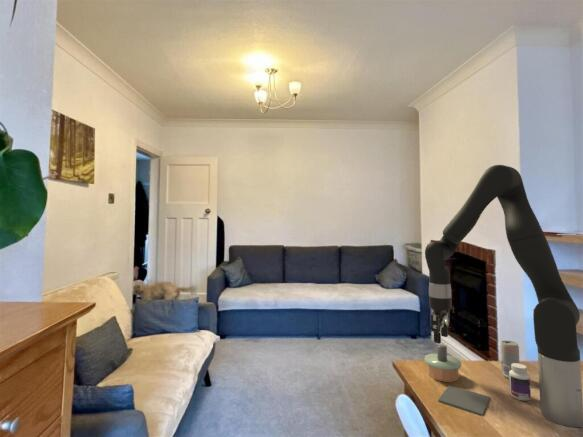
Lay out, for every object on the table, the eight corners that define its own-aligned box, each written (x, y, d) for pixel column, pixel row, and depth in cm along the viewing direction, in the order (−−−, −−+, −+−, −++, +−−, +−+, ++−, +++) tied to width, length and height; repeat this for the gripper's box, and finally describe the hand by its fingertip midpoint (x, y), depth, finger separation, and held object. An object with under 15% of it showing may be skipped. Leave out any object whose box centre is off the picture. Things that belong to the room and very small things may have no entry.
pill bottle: (534, 402, 96) (533, 369, 97) (515, 400, 98) (513, 368, 98) (525, 393, 102) (523, 362, 102) (506, 391, 103) (505, 361, 103)
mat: (490, 398, 99) (490, 396, 99) (482, 415, 90) (482, 414, 90) (449, 386, 107) (449, 384, 107) (438, 401, 98) (438, 399, 98)
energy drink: (514, 373, 115) (513, 340, 116) (523, 380, 110) (522, 345, 110) (499, 373, 116) (497, 340, 116) (507, 380, 110) (506, 345, 111)
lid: (464, 361, 116) (464, 345, 116) (455, 373, 107) (455, 355, 107) (430, 353, 124) (430, 338, 124) (419, 363, 115) (419, 347, 115)
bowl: (461, 374, 115) (461, 361, 115) (454, 385, 108) (453, 371, 108) (433, 367, 122) (432, 355, 122) (424, 376, 114) (423, 363, 115)
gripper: (445, 300, 108) (446, 347, 108) (456, 293, 119) (457, 336, 118) (422, 297, 113) (423, 342, 113) (435, 290, 124) (436, 332, 123)
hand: (441, 339), depth 115 cm, fingers open, 8 cm apart
